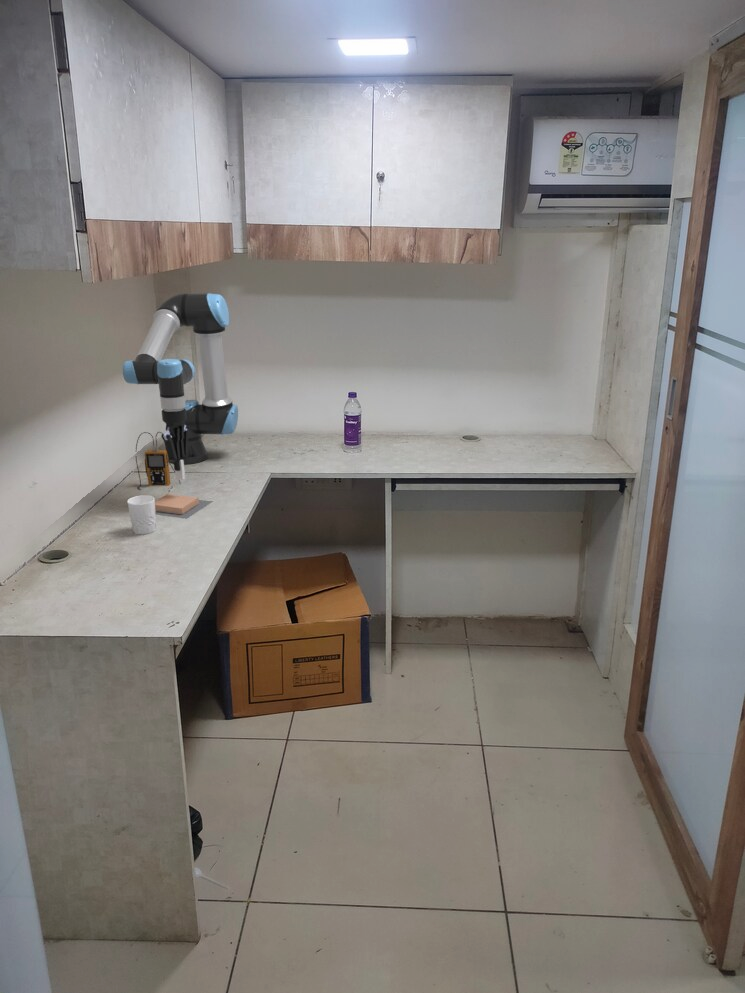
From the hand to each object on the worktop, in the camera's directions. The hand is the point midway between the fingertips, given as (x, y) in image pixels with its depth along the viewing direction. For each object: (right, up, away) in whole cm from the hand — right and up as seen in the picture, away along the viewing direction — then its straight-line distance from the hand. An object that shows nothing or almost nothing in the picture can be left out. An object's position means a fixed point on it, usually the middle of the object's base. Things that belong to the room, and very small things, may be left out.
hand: (180, 478), depth 236 cm
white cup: (-6, -16, -17) cm, 25 cm away
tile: (0, -7, +3) cm, 7 cm away
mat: (-1, -10, 0) cm, 10 cm away
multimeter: (-13, -4, +17) cm, 22 cm away
